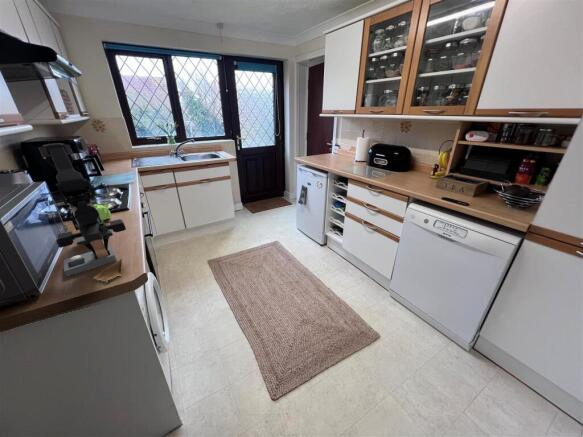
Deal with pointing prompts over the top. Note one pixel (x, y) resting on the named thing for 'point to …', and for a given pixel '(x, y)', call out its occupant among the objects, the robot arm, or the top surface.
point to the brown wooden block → (99, 248)
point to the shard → (110, 271)
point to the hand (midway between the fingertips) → (101, 252)
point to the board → (86, 262)
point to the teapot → (103, 211)
